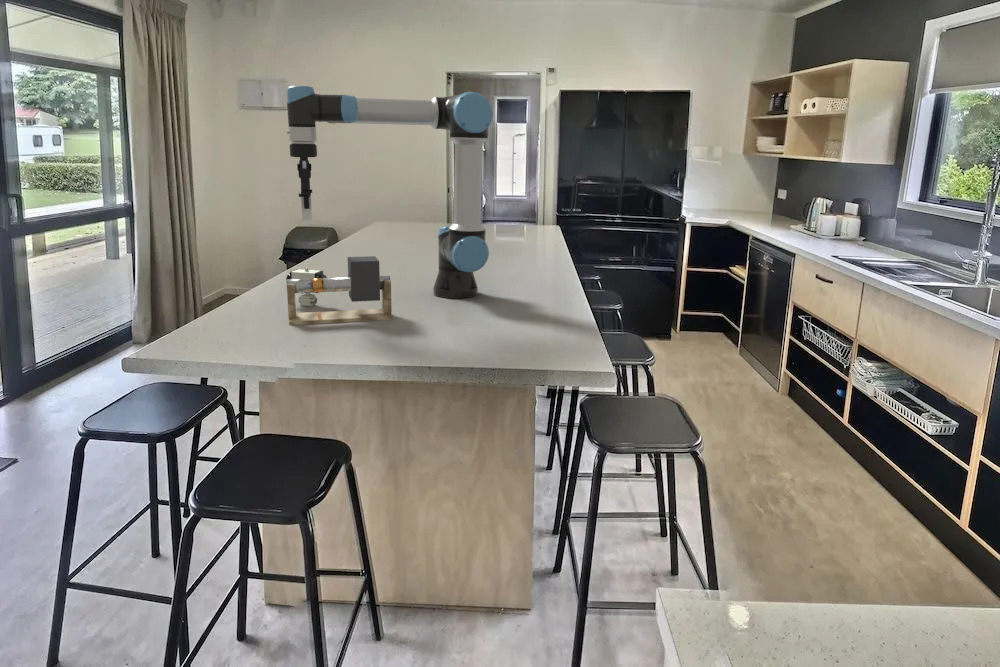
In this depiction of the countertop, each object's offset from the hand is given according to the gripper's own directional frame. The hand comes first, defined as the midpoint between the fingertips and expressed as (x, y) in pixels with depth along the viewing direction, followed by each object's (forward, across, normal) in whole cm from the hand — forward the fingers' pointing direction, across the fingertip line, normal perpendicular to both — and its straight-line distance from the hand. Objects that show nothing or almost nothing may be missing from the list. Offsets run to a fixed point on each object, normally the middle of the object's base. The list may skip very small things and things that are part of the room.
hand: (307, 217), depth 210 cm
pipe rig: (+28, +12, +8) cm, 31 cm away
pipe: (+20, +12, +8) cm, 25 cm away
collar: (+22, +12, +15) cm, 29 cm away
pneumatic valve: (+28, -7, -1) cm, 29 cm away
